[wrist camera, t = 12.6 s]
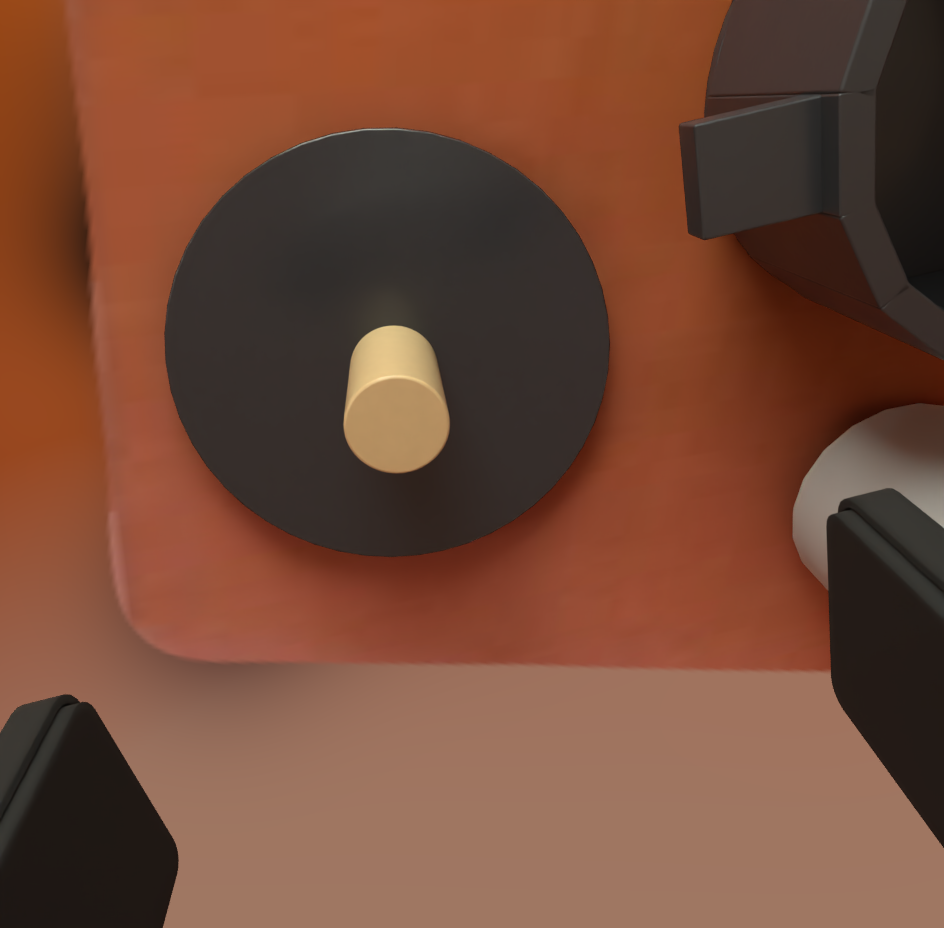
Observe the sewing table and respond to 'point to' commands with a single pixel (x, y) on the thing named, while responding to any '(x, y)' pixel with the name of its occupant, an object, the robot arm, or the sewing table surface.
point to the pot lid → (387, 342)
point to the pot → (830, 155)
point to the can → (872, 473)
